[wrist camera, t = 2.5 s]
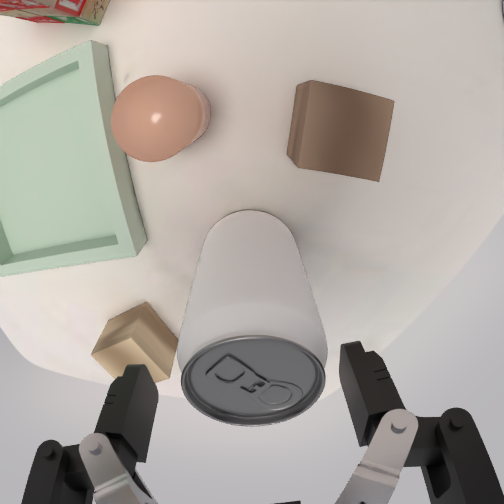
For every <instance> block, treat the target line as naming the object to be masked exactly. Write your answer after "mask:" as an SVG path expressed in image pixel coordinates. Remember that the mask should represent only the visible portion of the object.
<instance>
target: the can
mask: <svg viewBox="0 0 504 504" xmlns="http://www.w3.org/2000/svg"><path fill="white" fill-rule="evenodd" d="M327 354H328V348H327V341H326V336H325V332H324V329H323V325H322V322H321V319H320V315H319V312H318V309H317V306H316V302H315V299H314V296H313V293H312V290H311V287H310V284H309V280H308V277H307V274H306V271H305V268H304V265H303V262H302V259H301V257H300V254H299V251H298V248H297V245H296V242H295V240H294V238H293V235H292V234H291V232H290V230H289V229H288V228H287V226H286V225H285V224H284V223H283V222H281V221H280V220H279V219H277V218H276V217H274V216H272V215H270V214H268V213H265V212H261V211H254V210H246V211H239V212H235V213H232V214H230V215H227V216H226V217H224V218H222V219H221V220H219V221H218V222H217V223H216V224H215V225H214V226H213V227H212V228H211V230H210V231H209V233H208V235H207V237H206V239H205V241H204V244H203V248H202V251H201V254H200V258H199V261H198V265H197V268H196V272H195V276H194V279H193V283H192V287H191V291H190V294H189V298H188V302H187V306H186V310H185V314H184V318H183V322H182V327H181V331H180V336H179V341H178V348H177V358H178V363H179V367H180V370H181V372H182V375H181V386H182V390H183V393H184V395H185V397H186V398H187V400H188V401H189V402H190V404H191V405H192V406H193V407H194V408H196V409H197V410H198V411H200V412H201V413H202V414H204V415H206V416H208V417H210V418H212V419H214V420H217V421H220V422H223V423H227V424H231V425H238V426H265V425H272V424H276V423H280V422H284V421H287V420H289V419H291V418H294V417H296V416H298V415H300V414H301V413H303V412H304V411H306V410H307V409H309V408H310V407H311V406H312V405H313V404H314V403H315V402H316V401H317V400H318V398H319V397H320V395H321V394H322V392H323V389H324V386H325V371H324V368H325V365H326V361H327Z"/></svg>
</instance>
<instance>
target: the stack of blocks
mask: <svg viewBox="0 0 504 504" xmlns="http://www.w3.org/2000/svg"><path fill="white" fill-rule="evenodd" d="M109 2H110V0H0V15H4V16H11V17H15V18H19V19H24V20H29V21H33V22H48V23H78V24H89V25H97V26H98V25H100V23H101V21H102V18H103V16H104V14H105V11H106V9H107V7H108V5H109Z"/></svg>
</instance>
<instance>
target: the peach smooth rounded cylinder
mask: <svg viewBox="0 0 504 504" xmlns="http://www.w3.org/2000/svg"><path fill="white" fill-rule="evenodd" d="M210 117H211V109H210V104H209V102H208V100H207V98H206V96H205V95H204V94H203V93H202V92H201V91H200V90H199V89H197V88H196V87H194V86H191V85H188V84H186V83H183V82H180V81H177V80H175V79H172V78H169V77H165V76H158V75H154V76H147V77H143V78H140V79H138V80H136V81H134V82H132V83H131V84H129V85H128V86H127V87H126V88H125V89H124V90H123V91H122V92H121V93H120V95H119V96H118V98H117V100H116V102H115V104H114V106H113V110H112V115H111V127H112V132H113V135H114V138H115V140H116V142H117V144H118V145H119V146H120V148H121V149H122V150H123V151H124V152H125V153H126V154H128V155H129V156H131V157H133V158H135V159H137V160H140V161H145V162H157V161H162V160H166V159H168V158H170V157H172V156H174V155H175V154H177V153H178V152H180V151H181V150H182V149H184V148H185V147H187V146H188V145H190V144H191V143H192V142H194V141H195V140H197V139H198V138H199V137H200V136H201V135H202V134H203V133H204V132H205V131H206V129H207V127H208V125H209V122H210Z"/></svg>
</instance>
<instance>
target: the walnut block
mask: <svg viewBox="0 0 504 504" xmlns="http://www.w3.org/2000/svg"><path fill="white" fill-rule="evenodd" d="M393 107H394V101H393V100H390V99H387V98H383V97H380V96H376V95H373V94H369V93H365V92H362V91H358V90H354V89H350V88H346V87H341V86H337V85H333V84H328V83H323V82H319V81H314V80H310V81H307V82H305V83H302V84H299V85H297V87H296V94H295V101H294V108H293V115H292V122H291V128H290V135H289V142H288V148H287V155H288V157H289V158H290V159H291V160H292V161H293V163H294V164H295V165H296V166H297V167H298V168H304V169H310V170H316V171H323V172H329V173H334V174H340V175H346V176H351V177H357V178H362V179H367V180H372V181H377V182H379V180H380V175H381V171H382V166H383V161H384V156H385V151H386V146H387V141H388V136H389V130H390V125H391V119H392V113H393Z"/></svg>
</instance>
